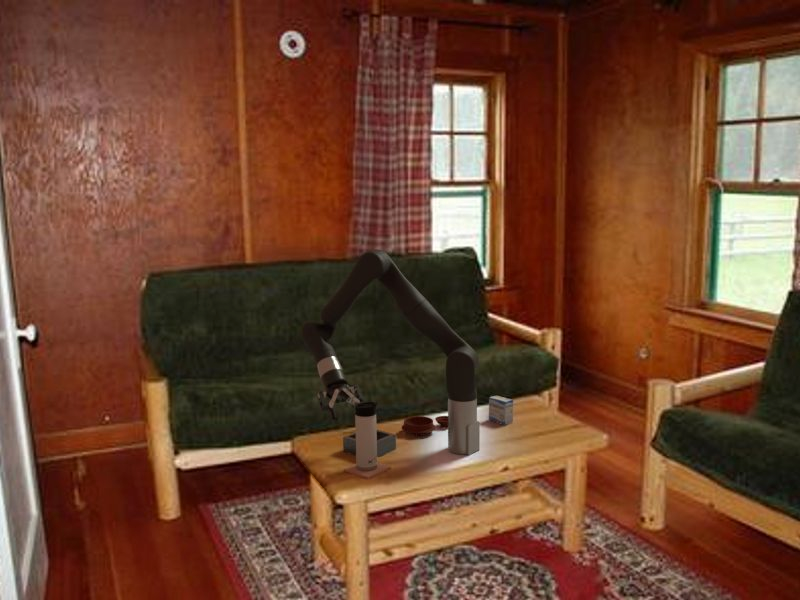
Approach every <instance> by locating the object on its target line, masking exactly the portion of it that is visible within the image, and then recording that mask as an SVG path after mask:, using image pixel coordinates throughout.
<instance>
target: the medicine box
mask: <svg viewBox="0 0 800 600" xmlns="http://www.w3.org/2000/svg"><path fill="white" fill-rule="evenodd" d="M489 420H490V422H492V421H494V422H493V423H496V422H498V423H497V424H499V423H501V424H500V425H503V424H505V425H504V426H507V425H506V424H508V425H510V424H509V423H511V422H513V423H514V399H511V398H507V397H502V396H499V395H493V396H490V397H489V399H488V421H489ZM511 424H512V423H511Z"/></svg>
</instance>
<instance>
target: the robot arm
mask: <svg viewBox="0 0 800 600" xmlns="http://www.w3.org/2000/svg"><path fill="white" fill-rule="evenodd" d="M375 280H377V281H378V282H379V283H380V284H381V285H382V286H383V287H384V288H385V289H386V290H387V291H388V293H389V294H390V295H391V297H392V300H393V302H394V303H395V305H396V308H397V309H398V311H399V313H400V315H401V316H402V317H403V318H404V319H405V321H406V322H407V323H408V325H410V326H411V327H412V328H413V330H415V331H416V332H417V333H418V334H420V335H422V336H423V337H424V338H425V339H428V340H429V341H430V342H433V343H434V344H435V345H436V346H437V347H438V348H439V349H440V350H441V351H442V352H443V354H444V355H445V356H446V358H447V359H446V361H445V362H446V363H445V385H446V387H445V388H446V391H447V416H448V428H447V449H448V451H449V452H451V453H452V454H456V455H467V456H471V455H472V454H474V453H475V452H477V451H479V450H480V433H481V432H480V431H481V430H480V428H481V427H480V426H481V425H480V424H481V423H480V420H478V390H477V388H476V370H477V369H478V368H479V367H478V366H479V364H480V363H479V362H480V361H479V356H478V353H477V352H476V350H474V348H472V346H470V345H469V344H468V343H467V342H466V341H465V340H464V339H463V338H462V337H460V335H458V334H457V333H456V332H455V331H454V330H453V329H452V328H451V326H450V325H449V324H448V323H447V322H446V320H445V319H444V318H443V317H442V316H441V314H439V313H438V311H437V309H435V307H434V306H433V305H432V304H431V303H430V302H429V301H428V299H427V298H426V297H424V296H423V294H422V293H421V292H419V290H418V289H417V288H416V287H415V286H414V285H413V284H412V282H410V281H409V280H408V279H407V278H406V276H404V274H403V273H402V272H401V270H400V269H399V268H398V266H397V265H396V264H395V263H394V261H393V260H392V258H391V257H390V256H389V255H388V253H387V252H385V251H384V250H381V249H372V250H367V251H366V252H363V253H362V254H361V255H360V256H359V258H358V260H357V261H356V264H355V265H354V267H353V268H352V270H351V272H350V273H349V275H348V277H347V278H346V279H345V281H344V282H343V284H342V285H341V286H340V288H339V289H338V290H337V291H336V292H335V294H333V296H331V298H330V299H329V300H328V301H327V303H326V304H325V305H324V306H323V307H322V309H321V311H320V313H319V316H320V318H321V320H322V322H317V321H313V320H308V321H305V322H304V323H303V324H302V325H301V329H300V337H301V339H302V342H303V343H304V345H305V346H306V347H307V349H308V350H309V353H311V354H312V357H313V360H314V361H315V364H316V367H317V372H318V374H319V377H320V380H321V383H322V385H323V388H324V390H325V391H323V390H319V391H318V393H317V400H318V404H319V407H320V410H321V411H322V412H324V411H326V412H328V414H329V418H330V419H331V421H333V422H337V420H338V415H337V413H336V411H335V407H334V404H339V403H345V402H347V403H349V404H351V405H352V406H354V409H355V407H356V406H357V405H358V404H360V403H364V402H363V401H365V397H364V395H363V394H362V391H361V388H360V386H359V385H358V384H355V385H354V386H349V383H348V381H347V378H346V375H345V372H344V369H343V367H342V365H341V363H340V361H339V359H338V357H337V354H336V352H335V349H334V348H333V345H331V344H330V343H328V342H329V341H330V340H331V339H332V338H333V335H334V333H335V331H336V329H337V327H338V325H339V323H340V322H341V320H342V319H344V317H345V316H346V314H348V312H349V311H350V309H352V306H353V305H354V303H355V302H356V300H357V298H358V297H359V295H360V294H361V293H362V292H363V291H364V289H366V287H368V286H369V285H370V284H371V283H373V282H374V281H375ZM351 392H352V393H351ZM326 397H327V398H328V399H330V400H329V402H328V403H327V401H326Z"/></svg>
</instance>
